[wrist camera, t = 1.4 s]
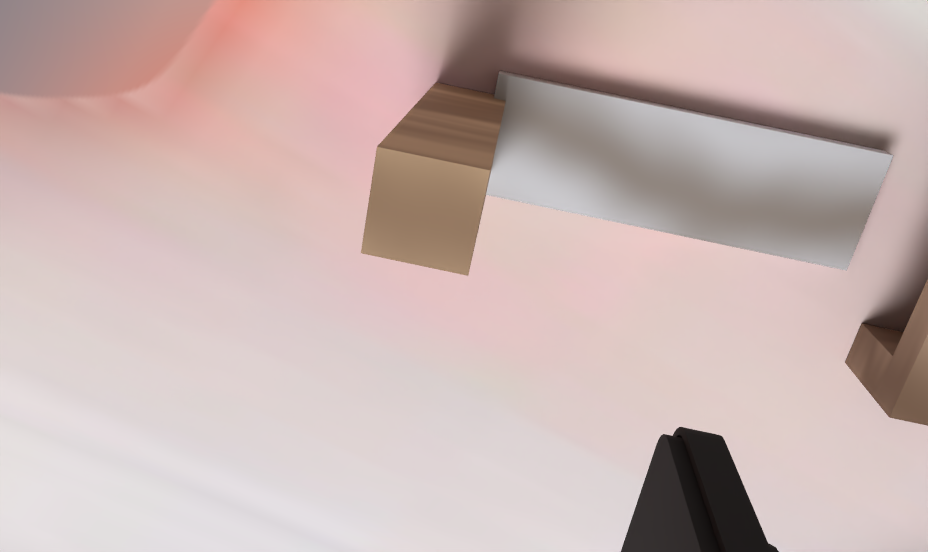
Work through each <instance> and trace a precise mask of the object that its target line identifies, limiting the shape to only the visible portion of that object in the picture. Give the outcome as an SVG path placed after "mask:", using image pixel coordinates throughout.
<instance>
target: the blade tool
mask: <svg viewBox="0 0 928 552" xmlns="http://www.w3.org/2000/svg"><path fill="white" fill-rule="evenodd" d="M892 158H893V155H891V154H889V153H887V152H885V151H883V150H879V149H874V148H869V147H865V146H860V145H855V144H850V143H846V142H841V141H836V140H831V139H826V138H822V137H817V136H812V135H807V134H802V133H798V132H793V131H788V130H783V129H778V128H774V127H769V126H764V125H759V124H754V123H750V122H745V121H740V120H735V119H730V118H726V117H721V116H716V115H711V114H706V113H702V112H697V111H692V110H687V109H682V108H678V107H673V106H668V105H663V104H658V103H654V102H649V101H644V100H639V99H634V98H630V97H625V96H620V95H615V94H610V93H606V92H601V91H596V90H591V89H586V88H582V87H577V86H572V85H567V84H562V83H558V82H553V81H548V80H543V79H538V78H534V77H529V76H524V75H519V74H514V73H510V72H505V71H499V75H498V79H497V84H496V89H495V94H489V93H484V92H479V91H475V90H470V89H465V88H460V87H455V86H451V85H446V84H441V83H435V84H434V85H433V86H432V87H431V88H430V89H429V91H428V92H427V93H426V94H425V95H424V96H423V97H422V98H421V99H420V100H419V102H418V103H417V104H416V105H415V106H414V107H413V108H412V109H411V110H410V111H409V112H408V114H407V115H406V116H405V117H404V118H403V119H402V120H401V121H400V122H399V123H398V124H397V126H396V127H395V128H394V129H393V130H392V131H391V132H390V133H389V134H388V135H387V136H386V138H385V139H384V140H383V141H382V142H381V143H380V144H379V145H378V146H377V151H376V157H375V164H374V170H373V177H372V184H371V190H370V197H369V203H368V210H367V217H366V223H365V230H364V236H363V243H362V250H361V253H363V254H368V255H372V256H377V257H382V258H387V259H391V260H396V261H401V262H406V263H410V264H415V265H420V266H425V267H429V268H434V269H439V270H444V271H448V272H453V273H458V274H463V275H467V276H468V274H469V269H470V265H471V260H472V256H473V251H474V246H475V242H476V237H477V233H478V228H479V224H480V219H481V215H482V210H483V206H484V201H485V196H486V195H489V196H494V197H499V198H503V199H508V200H513V201H518V202H522V203H527V204H532V205H537V206H541V207H546V208H551V209H556V210H560V211H565V212H570V213H575V214H580V215H584V216H589V217H594V218H599V219H603V220H608V221H613V222H618V223H622V224H627V225H632V226H637V227H641V228H646V229H651V230H656V231H661V232H665V233H670V234H675V235H680V236H684V237H689V238H694V239H699V240H703V241H708V242H713V243H718V244H723V245H727V246H732V247H737V248H742V249H746V250H751V251H756V252H761V253H765V254H770V255H775V256H780V257H784V258H789V259H794V260H799V261H804V262H808V263H813V264H818V265H823V266H827V267H832V268H837V269H842V270H846V271H847V269H848V266H849V264H850V261H851V259H852V256H853V254H854V251H855V249H856V246H857V244H858V242H859V239H860V237H861V234H862V232H863V229H864V227H865V224H866V222H867V219H868V217H869V215H870V212H871V210H872V207H873V205H874V202H875V200H876V197H877V195H878V192H879V190H880V187H881V185H882V183H883V180H884V178H885V175H886V173H887V170H888V168H889V165H890V163H891V160H892Z"/></svg>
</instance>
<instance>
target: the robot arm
mask: <svg viewBox="0 0 928 552" xmlns="http://www.w3.org/2000/svg"><path fill="white" fill-rule="evenodd" d="M621 552H778V550H777V548H776V547H774V546H772V545H771V544H768V542H767V540H766V537H765V535H764V533H763V530H762V528H761V526H760V523H759V521H758V519H757V516H756V514H755V511H754V509H753V507H752V504H751V502H750V500H749V497H748V495H747V493H746V490H745V488H744V485H743V483H742V481H741V478H740V476H739V474H738V471H737V469H736V466H735V464H734V462H733V459H732V457H731V455H730V452H729V450H728V448H727V445H726V443H725V440H724V439H723V437H722V436H720V435H716V434H712V433H707V432H702V431H697V430H693V429H688V428H683V427H679V428H678V429H676V431H675V432H674V434H673V436H670V435H665V434H663V435H661V437H660V438H659V440H658V443H657V445H656V448H655V451H654V454H653V457H652V460H651V463H650V466H649V469H648V472H647V475H646V478H645V481H644V484H643V487H642V490H641V493H640V496H639V499H638V502H637V505H636V508H635V511H634V514H633V517H632V520H631V523H630V526H629V529H628V532H627V535H626V538H625V541H624V544H623V547H622V550H621Z"/></svg>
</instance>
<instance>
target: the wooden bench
mask: <svg viewBox="0 0 928 552" xmlns="http://www.w3.org/2000/svg"><path fill="white" fill-rule="evenodd" d="M845 363H846V364H847V365H848V367H849V368H850V369H851V370H852V372H853V373H854V374H855V375H856V377H857V378H858V379H859V380H860V382H861V383H862V384H863V385H864V387H865V388H866V389H867V390H868V392H869V393H870V394H871V395H872V397H873V398H874V399H875V400H876V402H877V403H878V404H879V405H880V406H881V408H882V409H883V410H884V411H885V413H886V414H887V415H888V416H889V417H890V418H895V419H899V420H904V421H909V422H914V423H918V424H923V425H928V279H927V281H926V284H925V286H924V288H923V290H922V293H921V295H920V297H919V299H918V301H917V304H916V306H915V308H914V310H913V312H912V315H911V317H910V319H909V321H908V324H907V326H906V328H905V330H904V332H900V331H896V330H891V329H886V328H881V327H877V326H872V325H867V324H861V326H860V329H859V331H858V333H857V336H856V338H855V340H854V343H853V345H852V348H851V350H850V352H849V355H848V357H847V359H846V362H845Z"/></svg>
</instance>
